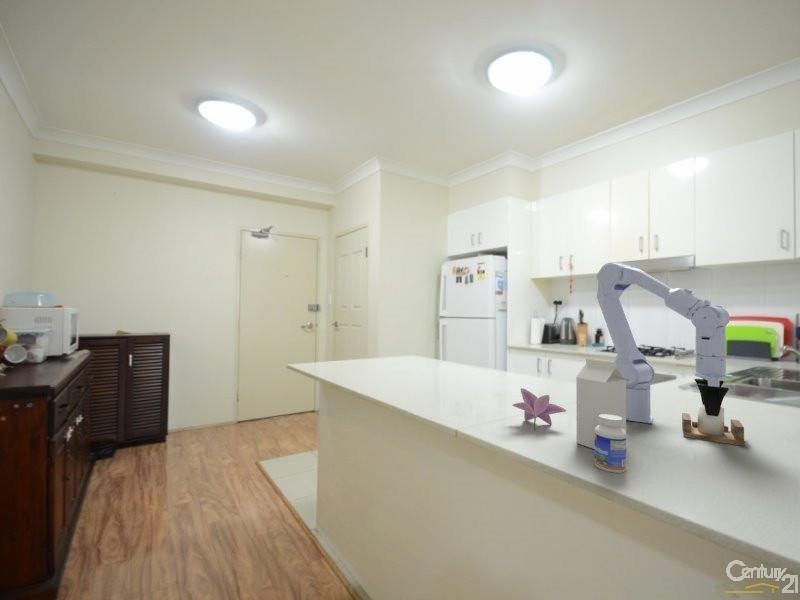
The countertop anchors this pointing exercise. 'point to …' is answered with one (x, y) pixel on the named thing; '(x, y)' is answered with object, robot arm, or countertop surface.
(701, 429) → the paper roll
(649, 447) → the countertop surface
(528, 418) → the lily
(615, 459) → the pill bottle
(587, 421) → the milk carton
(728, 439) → the holder
